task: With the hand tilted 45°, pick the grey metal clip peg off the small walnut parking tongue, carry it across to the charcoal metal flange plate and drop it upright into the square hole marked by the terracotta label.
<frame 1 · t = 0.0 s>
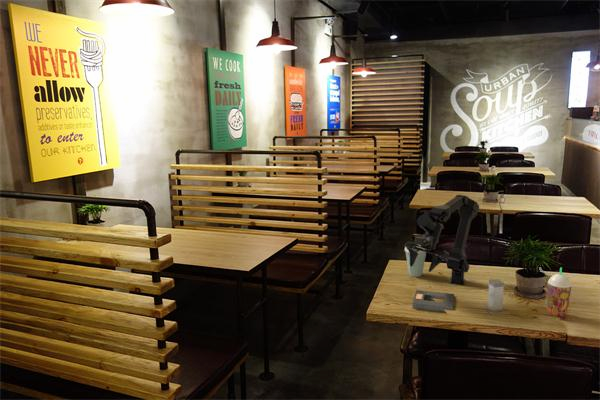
hand: (420, 269, 200), 15 cm above the table, tool tilted 35°, fingers open, 9 cm apart
flange plate: (433, 303, 201), on the table
smoothie: (556, 315, 187), on the table
parking tongue: (494, 312, 191), on the table
disposable coffee cup: (415, 275, 234), on the table
clip peg: (494, 309, 191), point 1 cm above the table, touching parking tongue
hinge: (536, 280, 223), on the table
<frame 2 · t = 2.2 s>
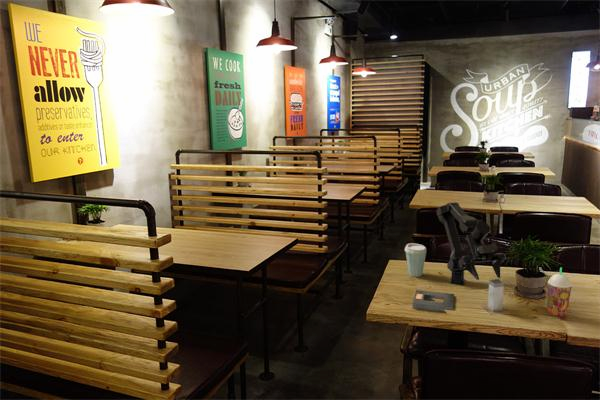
hand: (488, 278, 194), 12 cm above the table, tool tilted 45°, fingers open, 9 cm apart
nothing on the table moved.
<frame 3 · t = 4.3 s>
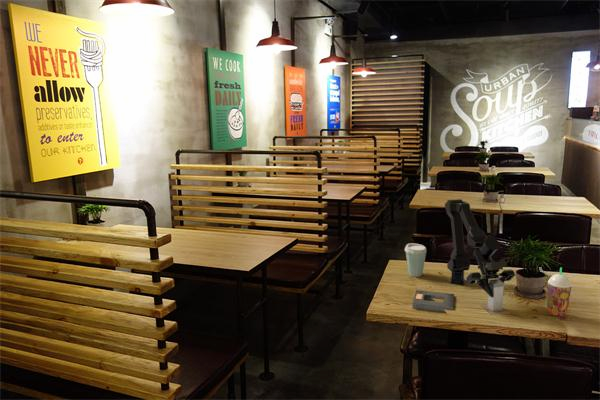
hand: (497, 296, 188), 8 cm above the table, tool tilted 45°, fingers closed on clip peg, 4 cm apart
clip peg: (494, 309, 191), point 1 cm above the table, touching gripper, parking tongue
everything else where it was.
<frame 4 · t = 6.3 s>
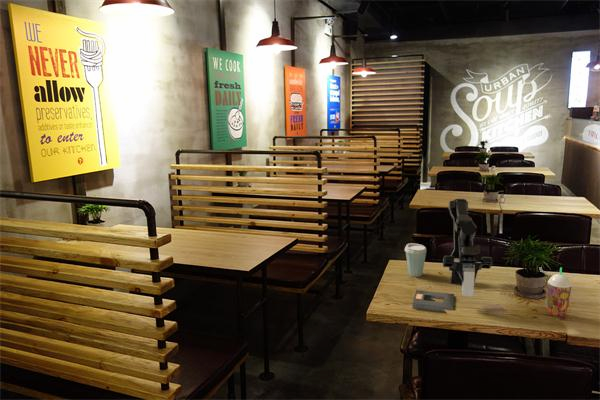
hand: (468, 281, 189), 13 cm above the table, tool tilted 45°, fingers closed on clip peg, 4 cm apart
clip peg: (467, 294, 192), point 7 cm above the table, touching gripper
everything else where it was.
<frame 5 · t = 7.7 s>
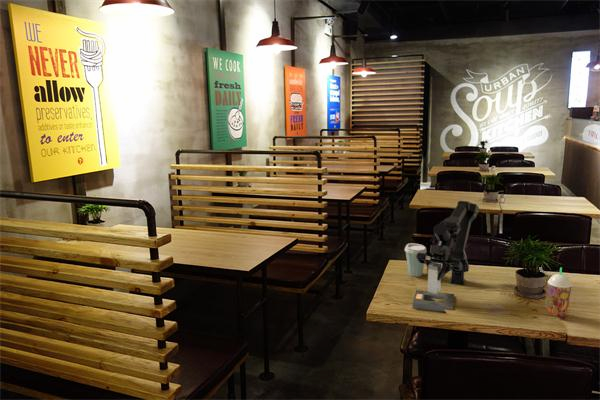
hand: (433, 279, 197), 12 cm above the table, tool tilted 45°, fingers closed on clip peg, 4 cm apart
clip peg: (434, 291, 200), point 6 cm above the table, touching gripper
everything else where it was.
when the fingers open (9 cm above the table, at t = 8.5 s): clip peg drops 3 cm, resting in flange plate.
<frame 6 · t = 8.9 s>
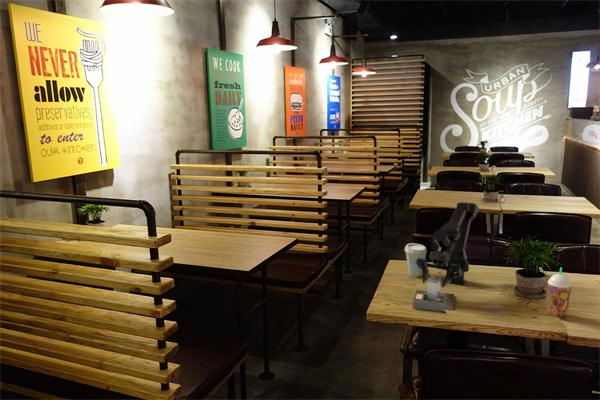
hand: (432, 284, 198), 9 cm above the table, tool tilted 45°, fingers open, 8 cm apart
clip peg: (433, 303, 201), resting in flange plate
everything else where it was.
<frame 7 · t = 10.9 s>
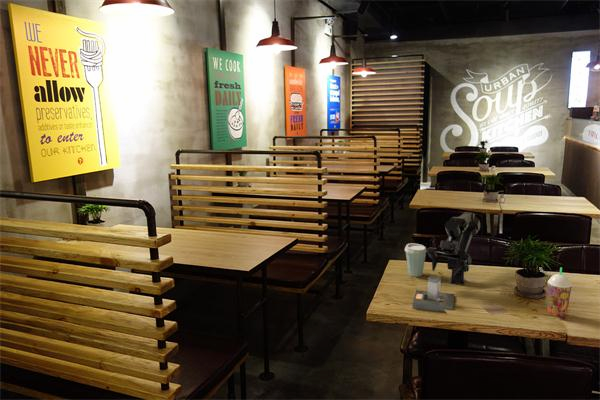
hand: (443, 272, 205), 11 cm above the table, tool tilted 45°, fingers open, 9 cm apart
nothing on the table moved.
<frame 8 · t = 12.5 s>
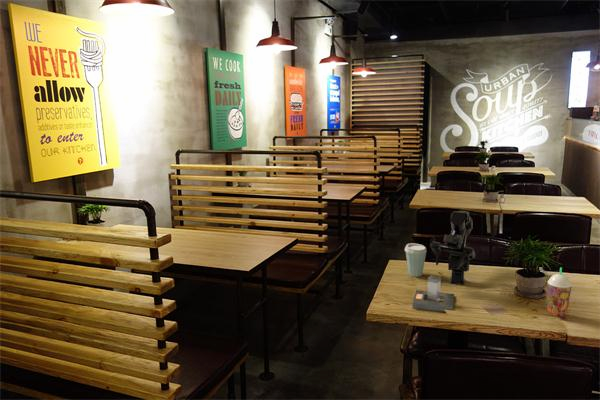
hand: (446, 266, 205), 14 cm above the table, tool tilted 45°, fingers open, 9 cm apart
nothing on the table moved.
at the end: clip peg 0.1 cm off-centre on the flange plate, point 0.0 cm above the flange plate's base; clip peg tilted 0°; the gripper is holding nothing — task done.
